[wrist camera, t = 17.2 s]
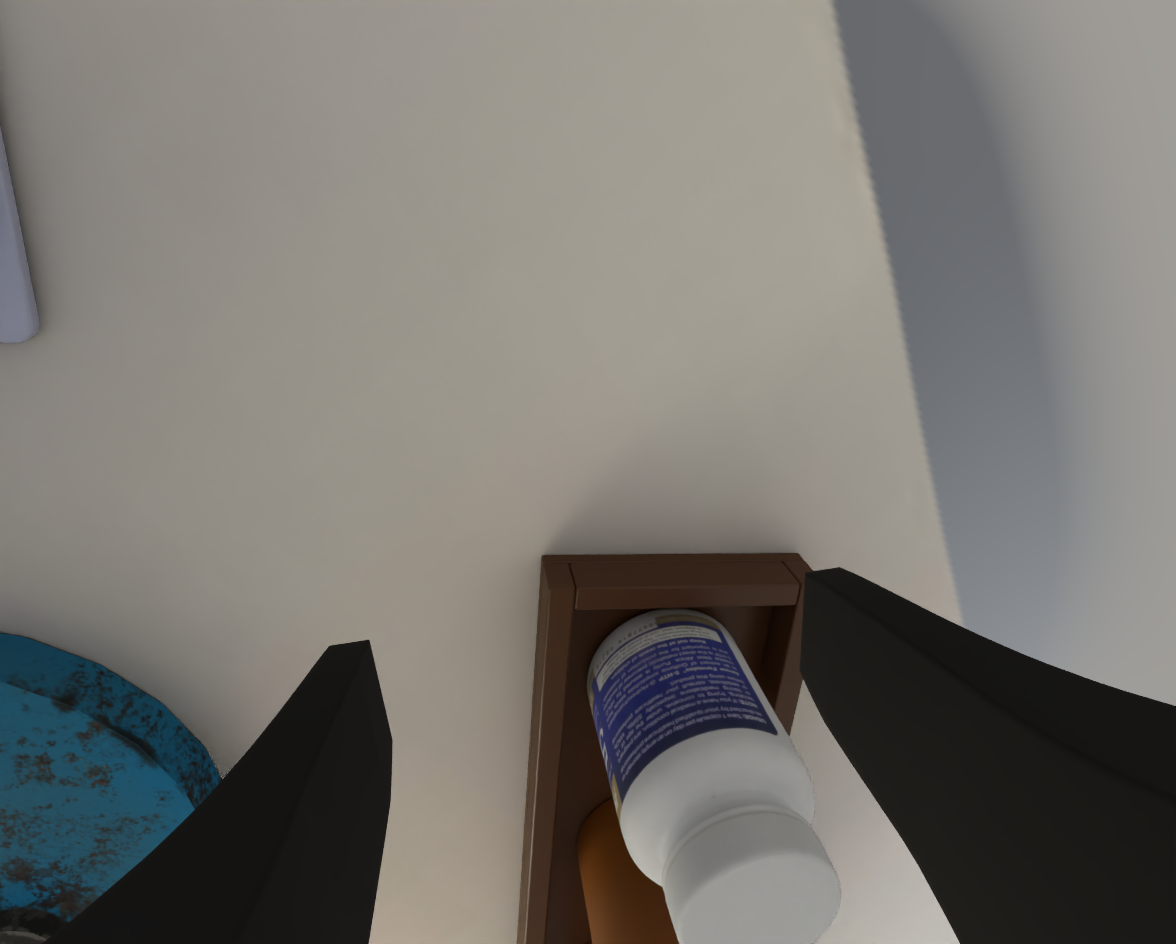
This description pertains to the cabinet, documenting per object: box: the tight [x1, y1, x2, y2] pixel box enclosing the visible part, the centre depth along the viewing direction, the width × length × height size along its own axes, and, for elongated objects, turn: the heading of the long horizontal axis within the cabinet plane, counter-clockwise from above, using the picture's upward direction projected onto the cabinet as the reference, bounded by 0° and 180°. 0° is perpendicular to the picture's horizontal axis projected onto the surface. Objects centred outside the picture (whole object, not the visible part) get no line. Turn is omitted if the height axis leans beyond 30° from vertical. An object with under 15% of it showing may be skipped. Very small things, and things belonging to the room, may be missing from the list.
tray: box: [517, 553, 813, 944], centre depth 27 cm, size 9×24×2 cm, turn 175°
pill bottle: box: [587, 608, 841, 944], centre depth 21 cm, size 5×5×9 cm
